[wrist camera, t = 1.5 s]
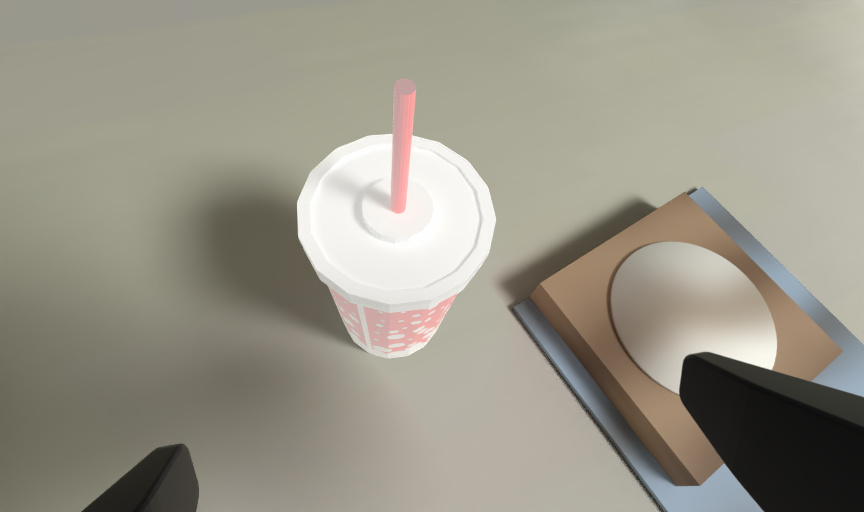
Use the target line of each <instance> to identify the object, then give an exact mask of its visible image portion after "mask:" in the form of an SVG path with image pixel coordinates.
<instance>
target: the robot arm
mask: <svg viewBox="0 0 864 512" xmlns="http://www.w3.org/2000/svg"><path fill="white" fill-rule="evenodd" d="M679 396H680V399H681V401H682V404H683V405H684V407H685V408H686V410H687V411H688V412H689V414H690V415H691V417H692V418H693V420H694V421H695V422H696V424H697V425H698V427H699V428H700V429H701V431H702V432H703V434H704V435H705V437H706V438H707V439H708V441H709V442H710V444H711V445H712V446H713V448H714V449H715V451H716V452H717V454H718V455H719V456H720V458H721V459H722V461H723V462H724V463H725V465H726V466H727V467H728V469H729V470H730V472H731V473H732V474H733V475H734V477H735V478H736V479H737V480H738V482H739V483H740V484H741V485H742V487H743V488H744V489H745V490H746V491H747V492H748V494H749V495H750V496H751V497H752V498H753V500H754V501H755V502H756V503H757V504H758V506H759V507H760V508H761V509H762V510H763V511H764V512H864V397H863V396H859V395H856V394H852V393H849V392H845V391H842V390H838V389H835V388H832V387H828V386H825V385H821V384H818V383H814V382H811V381H808V380H804V379H801V378H797V377H794V376H790V375H787V374H783V373H780V372H777V371H773V370H770V369H766V368H763V367H759V366H756V365H753V364H749V363H746V362H742V361H739V360H735V359H732V358H729V357H725V356H722V355H718V354H715V353H711V352H699V353H694V354H689V355H687V356H686V357H685V358H684V360H683V364H682V371H681V379H680V386H679ZM198 498H199V486H198V481H197V477H196V474H195V470H194V467H193V463H192V460H191V456H190V453H189V450H188V448H187V447H186V445H184V444H175V445H169V446H163V447H159V448H156V449H155V450H154V451H152V452H151V453H150V454H149V455H148V456H146V457H145V458H144V459H143V460H142V461H140V462H139V463H138V464H137V465H136V466H135V467H133V468H132V469H131V470H130V471H129V472H128V473H126V474H125V475H124V476H123V477H122V478H120V479H119V480H118V481H117V482H116V483H115V484H113V485H112V486H111V487H110V488H109V489H107V490H106V491H105V492H104V493H103V494H102V495H100V496H99V497H98V498H97V499H96V500H94V501H93V502H92V503H91V504H90V505H89V506H87V507H86V508H85V509H84V510H83V511H82V512H196V510H197V504H198Z"/></svg>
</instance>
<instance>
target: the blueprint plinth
mask: <svg viewBox="0 0 864 512" xmlns="http://www.w3.org/2000/svg"><path fill="white" fill-rule="evenodd" d="M512 310H513V311H514V312H515V314H516V315H517V316H518V318H519V319H520V320H521V322H522V323H523V324H524V326H525V327H526V328H527V330H528V331H529V332H530V334H531V335H532V336H533V337H534V339H535V340H536V341H537V343H538V344H539V345H540V347H541V348H542V349H543V351H544V352H545V353H546V355H547V356H548V357H549V359H550V360H551V361H552V363H553V364H554V365H555V367H556V368H557V369H558V371H559V372H560V373H561V375H562V376H563V377H564V379H565V380H566V381H567V383H568V384H569V385H570V387H571V388H572V389H573V391H574V392H575V393H576V395H577V396H578V397H579V399H580V400H581V401H582V403H583V404H584V405H585V407H586V408H587V409H588V411H589V412H590V413H591V415H592V416H593V417H594V419H595V420H596V421H597V423H598V424H599V425H600V427H601V428H602V429H603V431H604V432H605V433H606V435H607V436H608V437H609V439H610V440H611V441H612V443H613V444H614V445H615V447H616V448H617V449H618V451H619V452H620V453H621V455H622V456H623V457H624V459H625V460H626V461H627V463H628V464H629V465H630V467H631V468H632V469H633V471H634V472H635V473H636V475H637V476H638V477H639V479H640V480H641V481H642V483H643V484H644V485H645V487H646V488H647V489H648V491H649V492H650V493H651V495H652V496H653V497H654V499H655V500H656V501H657V503H658V504H659V505H660V507H661V508H662V509H663V511H664V512H764V511H763V510H762V509H761V508H760V507H759V506H758V504H757V503H756V502H755V501H754V500H753V498H752V497H751V496H750V495H749V494H748V492H747V491H746V490H745V489H744V488H743V487H742V485H741V484H740V483H739V482H738V480H737V479H736V478H735V477H734V475H733V474H732V473H731V472H730V470H729V469H728V467H727V466H726V465H725V463H724V462H723V461H722V459H721V458H720V456H719V455H718V454H717V452H716V451H715V449H714V448H713V446H712V445H711V444H710V442H709V441H708V439H707V438H706V437H705V435H704V434H703V432H702V431H701V429H700V428H699V427H698V425H697V424H696V422H695V421H694V420H693V418H692V417H691V415H690V414H689V412H688V411H687V410H686V408H685V407H684V405H683V404H682V401H681V399H680V396H679V386H680V379H681V371H682V364H683V360H684V358H685V357H686V356H687V355H689V354H694V353H699V352H711V353H715V354H718V355H722V356H725V357H729V358H732V359H735V360H739V361H742V362H746V363H749V364H753V365H756V366H759V367H763V368H766V369H770V370H773V371H777V372H780V373H783V374H787V375H790V376H794V377H797V378H801V379H804V380H808V381H811V382H814V383H818V384H821V385H825V386H828V387H832V388H835V389H838V390H842V391H845V392H849V393H852V394H856V395H859V396H863V397H864V345H863V344H862V343H861V342H860V341H859V340H858V339H857V338H856V337H855V336H854V335H853V334H852V333H851V332H850V331H849V330H848V329H847V328H846V327H845V326H844V325H843V324H842V323H841V322H840V321H839V320H838V319H837V318H836V317H835V316H834V315H833V314H832V313H831V312H830V311H829V310H828V309H827V308H826V307H824V306H823V305H822V304H821V303H820V302H819V301H818V300H817V299H816V298H815V297H814V296H813V295H812V294H811V293H810V292H809V291H808V290H807V289H806V288H805V287H804V286H803V285H802V284H801V283H800V282H799V281H798V280H797V279H796V278H795V277H794V276H793V275H792V274H791V273H790V272H789V271H788V270H787V269H786V268H785V267H784V266H783V265H782V264H781V263H780V262H779V261H778V260H777V259H776V258H775V257H774V256H773V255H772V254H771V253H770V252H769V251H768V250H767V249H766V248H765V247H763V246H762V245H761V244H760V243H759V242H758V241H757V240H756V239H755V238H754V237H753V236H752V235H751V234H750V233H749V232H748V231H747V230H746V229H745V228H744V227H743V226H742V225H741V224H740V223H739V222H738V221H737V220H736V219H735V218H734V217H733V216H732V215H731V214H730V213H729V212H728V211H727V210H726V209H725V208H724V207H723V206H722V205H721V204H720V203H719V202H718V201H717V200H716V199H715V198H714V197H713V196H712V195H711V194H710V193H709V192H708V191H707V190H706V189H705V188H704V187H701V188H700V189H698V190H696V191H695V192H693V193H692V194H690V195H688V194H687V193H686V192H684V193H682V194H680V195H679V196H677V197H676V198H674V199H672V200H671V201H669V202H668V203H666V204H664V205H663V206H661V207H660V208H658V209H657V210H655V211H653V212H652V213H650V214H649V215H647V216H645V217H644V218H642V219H641V220H639V221H638V222H636V223H634V224H633V225H631V226H630V227H628V228H626V229H625V230H623V231H622V232H620V233H619V234H617V235H615V236H614V237H612V238H611V239H609V240H607V241H606V242H604V243H603V244H601V245H600V246H598V247H596V248H595V249H593V250H592V251H590V252H588V253H587V254H585V255H584V256H582V257H581V258H579V259H577V260H576V261H574V262H573V263H571V264H569V265H568V266H566V267H565V268H563V269H562V270H560V271H558V272H557V273H555V274H554V275H552V276H550V277H549V278H547V279H546V280H544V281H542V282H541V283H540V284H539V285H538V286H537V288H536V289H535V290H534V292H533V293H532V294H531V296H530V297H528V298H527V299H525V300H524V301H522V302H521V303H519V304H518V305H516V306H514V307H513V309H512Z"/></svg>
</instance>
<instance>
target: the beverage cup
mask: <svg viewBox="0 0 864 512" xmlns="http://www.w3.org/2000/svg"><path fill="white" fill-rule="evenodd" d="M415 96H416V84H415V83H414V82H413V81H411V80H409V79H400V80H398V81H396V82H395V85H394V105H393V134H388V135H370V136H367V137H364V138H362V139H359V140H357V141H354V142H351V143H349V144H346V145H344V146H341V147H339V148H336V149H335V150H334V151H333V152H332V153H331V154H330V155H329V156H327V157H326V158H325V159H324V160H323V161H322V162H321V163H320V164H319V165H317V166H316V167H315V168H314V169H313V170H312V171H311V172H310V174H309V177H308V179H307V181H306V183H305V186H304V188H303V190H302V192H301V194H300V197H299V199H298V201H297V216H298V237H299V240H300V243H301V244H302V246H303V249H304V251H305V253H306V255H307V257H308V258H309V260H310V262H311V264H312V266H313V268H314V269H315V271H316V273H317V275H318V277H319V279H320V280H321V281H322V282H324V283H325V284H326V285H328V287H329V290H330V292H331V294H332V297H333V299H334V301H335V304H336V306H337V308H338V311H339V313H340V315H341V318H342V320H343V322H344V325H345V326H346V328H347V330H348V332H349V334H350V336H351V337H352V339H353V341H354V342H355V343H356V344H358V345H359V346H360V347H361V348H363V349H364V350H365V351H367V352H368V353H370V354H373V355H377V356H381V357H385V358H395V357H403V356H408V355H410V354H412V353H414V352H415V351H417V350H419V349H421V348H422V347H424V346H425V345H426V344H427V342H428V341H429V340H430V338H431V337H432V336H433V335H434V333H435V332H436V330H437V329H438V327H439V325H440V323H441V322H442V320H443V318H444V316H445V314H446V313H447V311H448V309H449V307H450V306H451V304H452V302H453V300H454V299H455V297H456V295H457V293H459V292H460V291H462V290H463V289H464V288H465V286H466V285H467V284H468V282H469V281H470V280H471V278H472V277H473V276H474V275H475V273H476V272H477V271H478V269H479V268H480V267H481V266H482V264H483V262H484V260H485V259H486V257H487V256H488V254H489V251H490V246H491V241H492V237H493V232H494V227H495V222H496V217H495V213H494V209H493V205H492V201H491V197H490V192H489V188H488V187H487V185H486V184H485V183H484V181H483V180H482V179H481V177H480V176H479V175H478V173H477V172H476V171H475V169H474V168H473V167H472V165H471V164H470V163H469V161H467V160H466V159H464V158H463V157H461V156H460V155H458V154H457V153H455V152H453V151H452V150H450V149H449V148H447V147H446V146H444V145H442V144H441V143H439V142H436V141H432V140H428V139H424V138H420V137H416V136H412V131H413V119H414V108H415Z"/></svg>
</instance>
